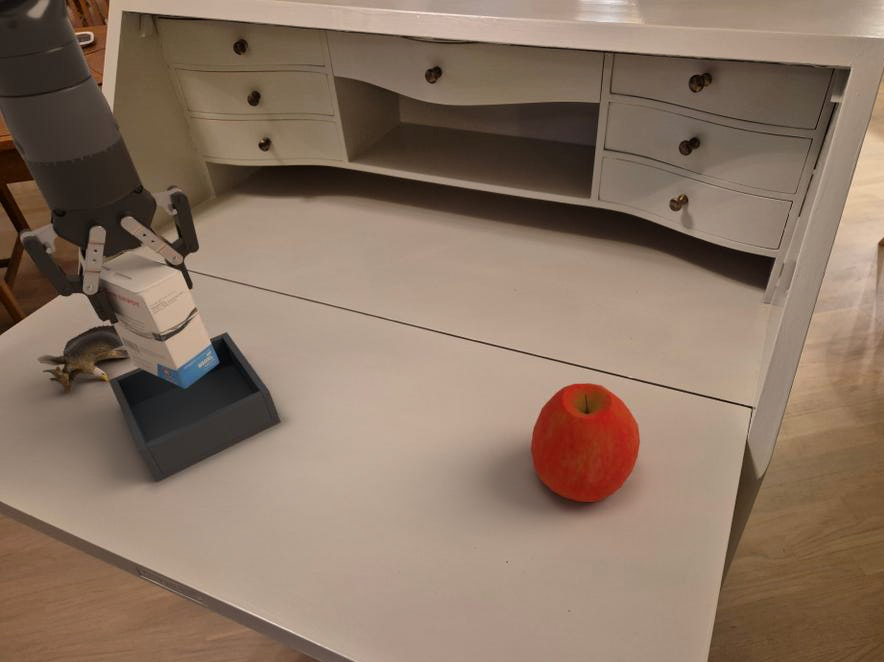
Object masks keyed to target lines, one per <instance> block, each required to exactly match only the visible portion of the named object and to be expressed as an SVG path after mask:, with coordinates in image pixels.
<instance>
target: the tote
mask: <svg viewBox="0 0 884 662" xmlns="http://www.w3.org/2000/svg"><path fill="white" fill-rule="evenodd" d="M209 339H210V341H211V344H212V346H213V348H214V351H215V353H216V355H217V358H218V360H219V364H217V365H216V366H215V367H214V368H212V369H211V370H210V371H209V372H207V373H206V374H205V375H203V376H202V377H201V378H199V379H198V380H197V381H195V382H194V383H193V384H191V385H190V386H189V387H188V388H186V389H184V388H182V387H180V386H177V385H175V384H173V383H171V382H169V381H167V380H165V379H163V378H160V377H158V376H156V375H154V374H152V373H150V372H147V371H145V370H143V369H141V368H139V367H137V368H135V369H133V370H130V371H127V372H125V373H123V374H120V375H117V376H115V377H113V378H111V379H108V382H109V384H110V387H111V389H112V391H113V394H114V396H115V399H116V401H117V404H118V405H119V408H120V410H121V412H122V415H123V417H124V419H125V423H126V424H127V426H128V429H129V431H130V435H131V436H132V439H133V441H134V443H135V446H136V448H137V450H138V452H139V454H140V456H141V458H142V459H143V460H144V463H145V464H146V466H147V468H148V469H149V472H151V474H152V476H153V477H154V479H155V481H156V482H157V483H159V482H161V481H163V480H165V479H167V478H169V477H171V476H173V475H175V474H178V473H179V472H181V471H184V470H185V469H188V468H190V467H192V466H194V465H196V464H198V463H201V462H202V461H204V460H207V459H209V458H210V457H213V456H214V455H216V454H219V453H221V452H223V451H225V450H227V449H229V448H231V447H233V446H236V445H237V444H239V443H242V442H243V441H245V440H247V439H249V438H252V437H253V436H256V435H257V434H260V433H261V432H263V431H266V430H269V429H270V428H272V427H275V426H276V425H278V424H280V423H281V422H282V421H281V419H280V416H279V413H278V411H277V408H276V405H275V402H274V400H273V397H272V394H271V391H270V389H269V388H268V387H267V385H266V384H265V383H264V381H263V380H262V379H261V377H260V375H258V373H257V372H256V370H255V369H254V368H253V366H252V365H251V363H250V362H249V361H248V359H247V357H246V356H245V355H244V354H243V352H242V351H241V350H240V348H239V347H238V346H237V344H236V343H235V341H234V340H233V339H232V337H231V336H230V335H229V333H228V332H227V331H226V332H223V333H220V334H218V335H216V336H213V337H211V338H209Z"/></svg>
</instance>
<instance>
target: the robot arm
mask: <svg viewBox="0 0 884 662" xmlns="http://www.w3.org/2000/svg"><path fill="white" fill-rule="evenodd" d="M0 116H1V118H2V121H3V123H4V126H5V128H6V129H7V131H8V133H9V136H10V138H11V139H12V143H13V145H14V148H15V149H16V151H17V152H18V153H19V154H20V156H21V158H22V160H23V161H24V165H26V168H27V169H28V171H29V173H30V175H31V177H32V179H33V181H34V183H35V184H36V186H37V188H38V191H40V193H41V195H42V197H43V199H44V201H45V203H46V205H47V207H48V208H49V210H50V215H51V216H50V223H48V224H45V225H44V226H41V227H38V228H37V229H31V228H24V229H22V230H21V231H20V232H19V239H20V242H21V244H22V247H23V249H24V251H25V252H26V253H27V254H28V256H29V257H30V258H31V260H32V261H33V262H34V263H35V265H36V266H37V267H38V269H39V270H40V271H41V272H42V274H43V275H44V277H45V278H46V279H47V280H48V282H49V283H50V284H51V285H52V287H53V289H55V291H56V292H57V293H58V294H59V295H60V296H62V297H65V298H66V297H67V298H68V297H71V296H72V295H73V294H81V295H85V296H86V298H87V300H88V301H89V303H90V305H91V306H92V308H93V310H94V312H95V314H96V316H97V317H98V319H99V320H101V321H102V322H107V321H109V322H110V324H111V325H113V324H115V323H118V322H119V321H118V319H117V317H116V315H115V313H114V311H113V309H112V307H111V305H110V303H109V301H108V299H107V297H106V295H105V294H104V292H103V290H102V288H101V286H100V284H99V275H100V272H101V269H102V264H103V259H104V258H103V257H105V258H106V259H107V258H111V257H114V256H116V255H118V254H120V253H121V252H122V251H129V250H135V249H138V248H141V247H142V244H144V245H145V246H147V248H150V250H152V251H153V252H155V253H156V254H158V255H160V256H161V257H162V258H163V259H164V260H163V261H164V262H165V265H166V266H169V267H171V268H174V269H177V270H180V271H181V272H182V275H183V277H184V279H185V282H186V284H187V287H188V289H189V291H191V290H192V289H193V288H194V287H193V286H194V284H193V281H192V278H191V276H190V274H189V271H188V269H187V266H186V263H185V259H186V257H187V256H189V255H190V254H194V253H196V252H198V251H199V249H200V245H199V244H200V243H199V240H198V236H197V231H196V227H195V223H194V217H193V214H192V210H191V206H190V202H189V197H188V196H187V195H186V194H185V192H184V191H183V190H182V189H181V188H180V187H179V186H178V185H175V184H172V185H170V186H168V187H167V189H166V190H165V191H158V192H153V193H151V192H150V191H149V190H148V189H146V188H145V187H144V185H143V182H142V179H141V178H140V175H139V173H138V171H137V168H136V166H135V164H134V161H133V159H132V156H131V154H130V151H129V149H128V147H127V144H126V142H125V139H124V137H123V135H122V132H121V129H120V124H119V122H118V119H117V117H115V115H114V113H113V111H112V109H111V107H110V104H109V102H108V100H107V98H106V96H105V94H104V93H103V90H102V89H101V88H100V86H99V84H98V83H97V80H96V79H95V76H94V74H93V73H92V70H91V67H90V64H89V63H88V60H87V57H86V55H85V53H84V50H83V48H82V46H81V44H80V42H79V38H78V37H77V34H76V32H75V30H74V27H73V25H72V22H71V19H70V16H69V12H68V6H67V1H66V0H0ZM158 207H160V208H162V209H163V210H164V212H165V213H166V214H167V215H169V216H172V218H173V222H174V226H175V230H176V233H177V238H176V240H174V241H172V242H170V240H168V239H167V238H165V237H164V236H163V235H162V234H161V233H160V232H159V231H157V230H156V229H155V228H154V227H153V226H152V224H153V220H154V217H155V214H156V211H157V209H158ZM57 238H61V239H63V240H64V241H66V242H67V243H68V242H69V243H70V244H72V245H74V246H76V247H78V256H77V257H78V269H77V274H67V272H65V270H64V269H63V267H62V266H61V264H60V263H59V262H58V261H57V259H56V258H55V257H54V255H53V254H54V253H55V252H56V250H57V247H56V244H55V240H56V239H57Z"/></svg>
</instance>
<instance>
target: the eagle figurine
mask: <svg viewBox="0 0 884 662" xmlns="http://www.w3.org/2000/svg"><path fill="white" fill-rule="evenodd" d="M123 346H124V345H123V343H122V341H121V339H120V337H119V335H118V333H117V331H116V329H115V327H114V325H112V324H111V325H109V324H107V325H98V326H94V327H93V326H92V328H88V330H86V331H84V332H81V333H79V334H78V335H76V336H74V337H73V338H71V339H69V340H67V342H66V344H65V347H64V349H63V351H62V355H58V356H55V355H50V354H44V355H40V356H39V357H37V358H36V361H38V362H39V363H40V364H44V365H50V366H55V367H56V368H51V369H44V370H42V372H43V373H50V374H51V375H53V376H54V377H50V378H49V380H50V382H56V383H59V384H60V385H61V386H62V387H63V390H64V392H65V393H67V394H68V393H69V392H70V391H71V389H72V387H73V385H74V384H73V382H74V380H75V378H76V377H77V375H78V374H79V373H81V374H85V375H90V376H94V377H97V378H100V379H103V380H104V381H105V382H109V378H108V376H107V374H106V373H105V372H104V371H103V370H102V369H100V368H99V367H98V366H96V365H95V364H96V363H98V362H100V361H104V360H111V359H120V358H121V359H122V358H130V356H129V354H128V352H127V350H126V349H122V348H121V347H123ZM61 365H62V366H63V368H60V366H61Z"/></svg>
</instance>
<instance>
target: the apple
mask: <svg viewBox="0 0 884 662" xmlns="http://www.w3.org/2000/svg"><path fill="white" fill-rule="evenodd" d="M639 428H640V427H639V424H638V423H637V420H636V419H635V417H634V415H633V413H632V412H631V410H630V409H629V408H628V406H627V405H626V404H625V402H624V401H623V400H622V399H621V398H620V397H619V396H618V395H616V394H615V393H613V392H611V391H610V390H609V389H608V388H606V387H604V385H601V384H596V383H592V382H591V383H590V382H587V383H585V382H584V383H573V384H569V385H566V386H563V387H562V388H560V389H559V390H558V391H556V392H555V393H554V394H553V396H551V397H550V399H548V401H546V403H545V404H544V405H543V406H542V407H541V410H540V411H539V414H538V416H537V419H536V421H535V423H534V425H533V429H532V436H531V443H530V452H531V459H532V463H533V468H534V471H535V472H536V475H537V476H538V478H539V480H540V481H541V482H542V483H543V484H544V485H546V487H547V488H549V489H550V491H552V492H554V493H555V494H557V495H559V496H561V497H562V498H566V499H569V500H573V501H576V502H580V503H588V502H592V503H594V502H595V503H596V502H599V501H601V500H603V499H605V498H608V497H609V496H612V495H613V494H614V493H616V492H617V491H619V490H620V489H621V488H622V487H623V486H624V484H625V483H626V481H627V480H628V478H629V477H630V475H631V473H633V470H634V468H635V465H636V463H637V460H638V457H639V451H640V445H641V437H640V429H639Z"/></svg>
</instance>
